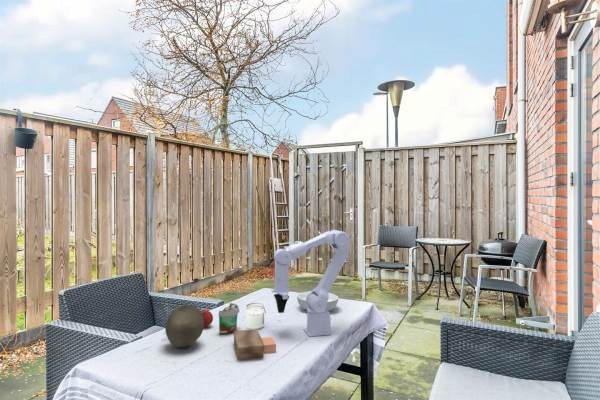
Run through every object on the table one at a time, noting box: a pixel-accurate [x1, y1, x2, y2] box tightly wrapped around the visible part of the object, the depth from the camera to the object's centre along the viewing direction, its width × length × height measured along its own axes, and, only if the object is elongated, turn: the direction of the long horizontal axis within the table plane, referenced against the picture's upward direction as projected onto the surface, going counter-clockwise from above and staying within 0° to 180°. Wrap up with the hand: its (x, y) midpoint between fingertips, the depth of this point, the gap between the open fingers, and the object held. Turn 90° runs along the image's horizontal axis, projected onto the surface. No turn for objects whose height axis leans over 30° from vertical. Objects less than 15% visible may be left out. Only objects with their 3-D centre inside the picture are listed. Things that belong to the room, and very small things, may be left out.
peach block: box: [261, 336, 277, 355], centre depth 132 cm, size 10×7×3 cm
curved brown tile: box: [233, 328, 265, 360], centre depth 131 cm, size 9×16×5 cm, turn 16°
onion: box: [201, 308, 214, 328], centre depth 154 cm, size 6×6×8 cm
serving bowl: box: [296, 290, 339, 312], centre depth 183 cm, size 21×21×7 cm
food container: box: [218, 302, 240, 336], centre depth 150 cm, size 12×6×10 cm, turn 168°
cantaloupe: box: [164, 304, 205, 348], centre depth 134 cm, size 14×14×15 cm
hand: (280, 312), depth 147 cm, fingers closed
